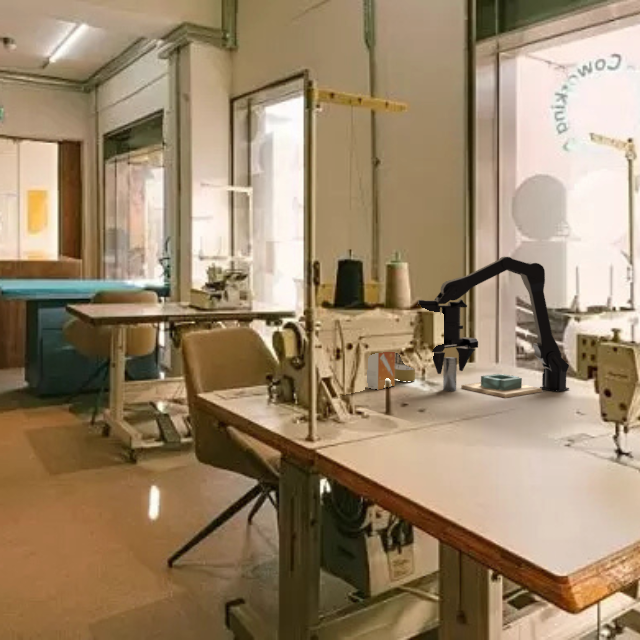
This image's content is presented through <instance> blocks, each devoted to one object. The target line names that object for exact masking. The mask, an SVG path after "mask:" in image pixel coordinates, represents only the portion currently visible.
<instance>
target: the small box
mask: <svg viewBox="0 0 640 640" xmlns="http://www.w3.org/2000/svg"><path fill="white" fill-rule="evenodd" d="M386 378H389V379H390V380H391V384H392V386H394V387H395V381H396V380H395V352H383V353H375V354H372V355H370V356H369V358H368V370H367V383H368V387H369V388H371V390H375V389H377V391H379V390H384V389H383V388H384V385H385V379H386ZM369 388H368V389H369Z"/></svg>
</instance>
